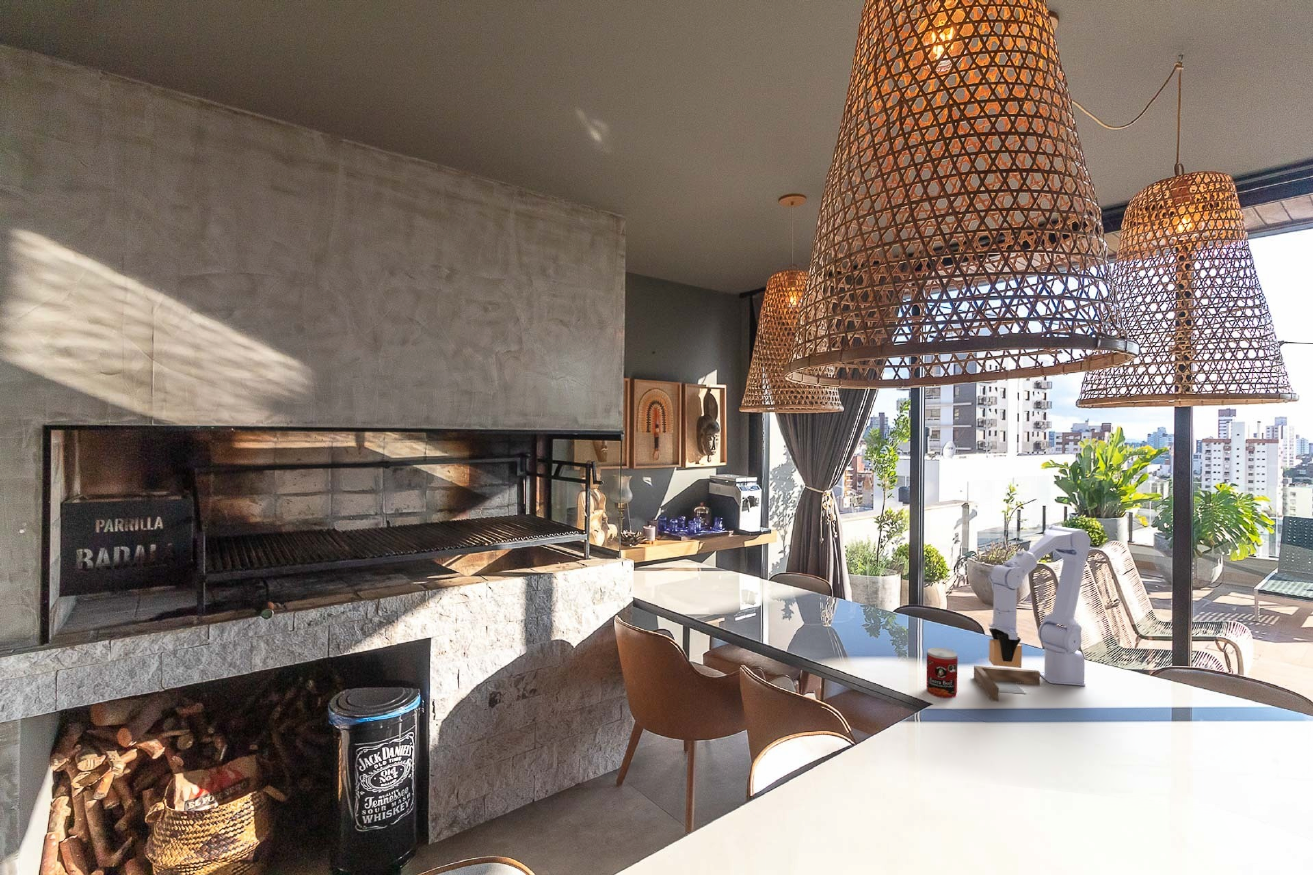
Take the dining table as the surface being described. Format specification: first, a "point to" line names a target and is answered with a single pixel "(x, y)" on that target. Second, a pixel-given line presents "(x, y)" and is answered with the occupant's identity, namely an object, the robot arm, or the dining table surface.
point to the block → (996, 655)
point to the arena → (1003, 678)
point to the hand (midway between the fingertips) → (1004, 658)
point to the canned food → (942, 672)
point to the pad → (1009, 687)
